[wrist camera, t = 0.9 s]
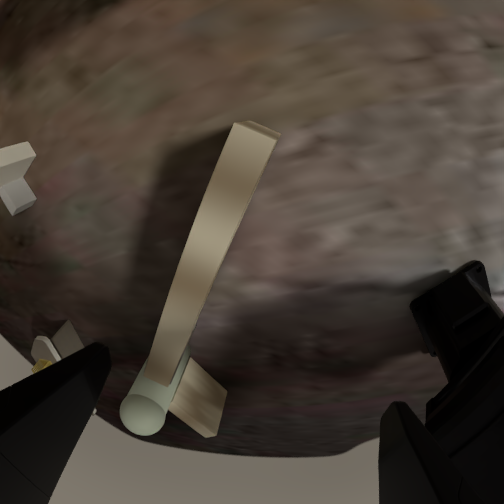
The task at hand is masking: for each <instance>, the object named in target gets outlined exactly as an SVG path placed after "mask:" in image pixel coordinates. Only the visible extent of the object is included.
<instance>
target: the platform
mask: <svg viewBox="0 0 504 504" xmlns="http://www.w3.org/2000/svg"><path fill="white" fill-rule="evenodd" d="M82 348H84V346H83V344H82V342H81V340H80V339H79V337H78V335H77V333H76V331H75V329H74V327H73V326H72V324H71V322H70V320H69V319H68V320H67V321H66V322H65V323H64V324H63V326H62V327H61V328H60V329H59V330H58V331H57V332H56V333H55V334H54V336H53V337H52V338H51V339H50V340H49V339H48V338H47V337H45V336H37V337H36V339H35V340H34V343H33V346H32V350H31V355H32V357H33V358H34V360H35V361H36V365H37V364H38V365H37V366H36V365H35V366H36V367H35V366H34V367H33V368H32V371H33V373H35V372H36V371H37V372H38V371H39V370H42V369H44V368H46V367H48V366H50V365H52V364H54V363H55V362H57V361H59V360H61V359H63V358H65V357H67V356H69V355H71V354H73V353H75V352H77V351H79V350H80V349H82ZM46 361H47V362H46ZM37 367H38V368H39V367H40V368H39V369H38V368H37ZM34 368H35V369H36V368H37V369H38V370H37V369H36V370H35V369H34ZM33 369H34V370H35V371H34V370H33ZM95 413H96V409H94V411H93V413H92V415H95Z"/></svg>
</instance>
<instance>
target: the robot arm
mask: <svg viewBox="0 0 504 504" xmlns="http://www.w3.org/2000/svg"><path fill="white" fill-rule="evenodd" d="M478 267H479V269H478V270H477V268H478ZM417 305H419V306H418V307H417V308H415V307H416V306H417ZM410 309H411V311H412V313H413V315H414V318H415V320H416V322H417V324H418V327H419V329H420V331H421V333H422V336H423V338H424V340H425V343H426V345H427V348H428V350H429V352H430V355H431V356H432V357H436V356H438V359H439V361H440V363H441V366H442V368H443V370H444V373H445V375H446V377H447V380H448V382H449V383H448V384H447V385H446V386H445V387H444V388H443V389H442V390H441V391H440V392H439V393H438V394H437V395H436V396H435V397H434V398H431V399H430V400H429V401H428V402H427V403H426V423H425V426H424V425H423V424H422V422H421V421H420V420H419V419H418V417H417V416H416V415H415V413H414V412H413V411H412V410H411V408H410V407H409V406H408V405H407V404H406V403H405V402H402V401H394V402H392V403H391V404H390V406H389V407H388V409H387V410H386V411H385V413H384V414H383V416H382V418H381V422H380V443H379V460H378V464H379V465H378V469H379V504H504V313H503V312H502V311H501V309H500V308H499V307H498V306H497V304H496V303H495V302H494V301H493V299H492V298H491V293H490V288H489V284H488V279H487V275H486V271H485V267H484V265H483V263H482V262H480V261H476V262H474V263H473V264H471V265H470V266H468V267H467V268H465V269H464V270H462V271H461V272H459V273H458V274H456V275H455V276H453V277H451V278H450V279H448V280H447V281H445V282H444V283H442V284H440V285H439V286H437V287H435V288H434V289H432V290H430V291H429V292H427V293H426V294H424V295H422V296H420V297H419V298H417V299H415V300H414V301H412V303H411V304H410ZM111 367H112V361H111V357H110V352H109V348H108V346H107V345H105V344H103V343H100V342H94V343H92V344H90V345H88V346H86V347H84V348H82V349H80V350H79V351H77V352H75V353H73V354H71V355H69V356H67V357H65V358H63V359H61V360H59V361H57V362H55V363H54V364H52V365H50V366H48V367H46V368H44V369H42V370H40V371H38V372H36V373H34V374H33V375H30V376H29V377H26V378H25V379H23V380H21V381H19V382H17V383H15V384H13V385H12V386H9V387H7V388H5V389H3V390H1V391H0V504H48V503H49V500H50V497H51V496H52V493H53V491H54V489H55V487H56V485H57V483H58V480H59V478H60V476H61V474H62V472H63V470H64V468H65V466H66V464H67V462H68V459H69V457H70V455H71V454H72V452H73V449H74V448H75V446H76V444H77V442H78V440H79V438H80V436H81V434H82V432H83V430H84V428H85V426H86V424H87V422H88V420H89V418H90V417H91V415H92V413H93V411H94V409H95V407H96V405H97V402H98V400H99V397H100V395H101V392H102V390H103V387H104V385H105V382H106V380H107V377H108V375H109V373H110V370H111Z"/></svg>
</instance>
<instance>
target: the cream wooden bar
mask: <svg viewBox="0 0 504 504" xmlns="http://www.w3.org/2000/svg"><path fill="white" fill-rule="evenodd" d="M280 135H281V134H280V133H278V132H276V131H274V130H272V129H269V128H267V127H265V126H262V125H260V124H258V123H256V122H253V121H244V122H236V123H234V125H233V127H232V129H231V132H230V134H229V136H228V139H227V141H226V143H225V146H224V148H223V150H222V153H221V155H220V158H219V160H218V162H217V165H216V167H215V170H214V172H213V175H212V177H211V180H210V182H209V185H208V187H207V190H206V192H205V195H204V197H203V200H202V202H201V205H200V208H199V210H198V213H197V216H196V218H195V221H194V223H193V226H192V229H191V232H190V234H189V237H188V240H187V243H186V245H185V248H184V251H183V254H182V256H181V259H180V262H179V265H178V268H177V271H176V274H175V277H174V279H173V282H172V285H171V288H170V291H169V294H168V297H167V300H166V303H165V307H164V310H163V313H162V316H161V319H160V322H159V325H158V329H157V332H156V335H155V338H154V342H153V345H152V348H151V350H150V353H149V356H148V360H147V363H146V367H145V370H144V377H146V378H148V379H150V380H152V381H155V382H157V383H159V384H161V385H163V386H165V387H168V386H169V384H170V385H171V383H172V380H173V378H174V376H175V373H176V371H177V369H178V366H179V364H180V361H181V359H182V357H183V355H184V353H185V350H186V348H187V346H188V343H189V341H190V339H191V336H192V334H193V332H194V329H195V327H196V321H197V319H198V317H199V314H200V312H201V310H202V308H203V305H204V303H205V301H206V298H207V296H208V294H209V291H210V289H211V287H212V285H213V282H214V280H215V278H216V276H217V273H218V271H219V269H220V266H221V264H222V262H223V260H224V257H225V255H226V253H227V251H228V248H229V246H230V244H231V242H232V240H233V237H234V235H235V233H236V231H237V228H238V226H239V224H240V222H241V220H242V217H243V215H244V213H245V211H246V209H247V206H248V204H249V202H250V200H251V198H252V195H253V193H254V191H255V189H256V187H257V185H258V182H259V180H260V178H261V176H262V174H263V172H264V170H265V167H266V165H267V163H268V161H269V159H270V157H271V155H272V152H273V150H274V148H275V146H276V144H277V142H278V140H279V138H280Z"/></svg>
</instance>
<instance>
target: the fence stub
mask: <svg viewBox="0 0 504 504" xmlns="http://www.w3.org/2000/svg"><path fill="white" fill-rule="evenodd" d="M227 392H228V391H227V390H226V389H224V388H223V387H222V386H221V385H220V384H219V383H218V382H217V381H216V380H214V379H213V378H212V377H211V376H210V375H209V374H208V373H207V372H206V371H205V370H204V369H203V368H202V367H200V366H199V365H198V364H197V363H196V362H195V361H194V360H193V359H192V358H191V357H189V359H188V361H187V364H186V366H185V369H184V371H183V374H182V376H181V378H180V381H179V383H178V386H177V388H176V391H175V393H174V396H173V398H172V401H171V403H170V406H169V408H168V410H170V411H171V412H172V413H173V414H175V415H176V416H177V417H178V418H180V419H181V420H182V421H184V422H185V423H186V424H188V425H189V426H190V427H192V428H193V429H194V430H196V431H197V432H198V433H200V434H201V435H203V436H204V437H205V438H207V437H212V436H216V435H217V431H218V427H219V424H220V420H221V416H222V412H223V408H224V404H225V400H226V396H227Z"/></svg>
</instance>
